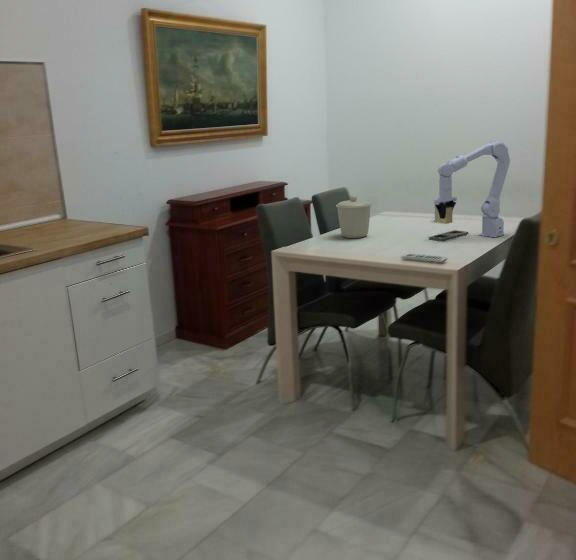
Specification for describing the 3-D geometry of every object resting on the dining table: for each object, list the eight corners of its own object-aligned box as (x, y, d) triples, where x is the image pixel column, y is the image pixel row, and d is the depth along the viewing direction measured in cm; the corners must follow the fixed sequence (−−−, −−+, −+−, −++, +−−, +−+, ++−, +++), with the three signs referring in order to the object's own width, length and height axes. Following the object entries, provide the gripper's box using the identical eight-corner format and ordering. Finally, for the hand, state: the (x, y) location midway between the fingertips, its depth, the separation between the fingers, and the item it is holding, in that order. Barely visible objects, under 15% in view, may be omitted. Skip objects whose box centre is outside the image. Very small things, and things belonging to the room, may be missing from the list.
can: (447, 223, 343) (447, 201, 340) (431, 222, 349) (431, 200, 346) (454, 220, 350) (454, 198, 347) (438, 219, 356) (438, 198, 353)
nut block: (452, 222, 305) (452, 206, 303) (446, 223, 302) (446, 207, 300) (444, 221, 308) (444, 205, 306) (438, 223, 306) (438, 207, 304)
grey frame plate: (468, 234, 312) (468, 231, 311) (442, 241, 300) (442, 238, 299) (454, 232, 318) (454, 230, 318) (428, 239, 306) (428, 236, 306)
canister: (371, 239, 314) (370, 197, 308) (335, 240, 318) (333, 198, 312) (373, 232, 331) (372, 192, 325) (339, 233, 335) (337, 193, 329)
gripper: (448, 187, 309) (448, 214, 312) (429, 190, 300) (429, 219, 303) (460, 187, 303) (460, 215, 307) (441, 191, 295) (441, 220, 298)
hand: (445, 217), depth 305 cm, fingers closed on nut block, 4 cm apart
